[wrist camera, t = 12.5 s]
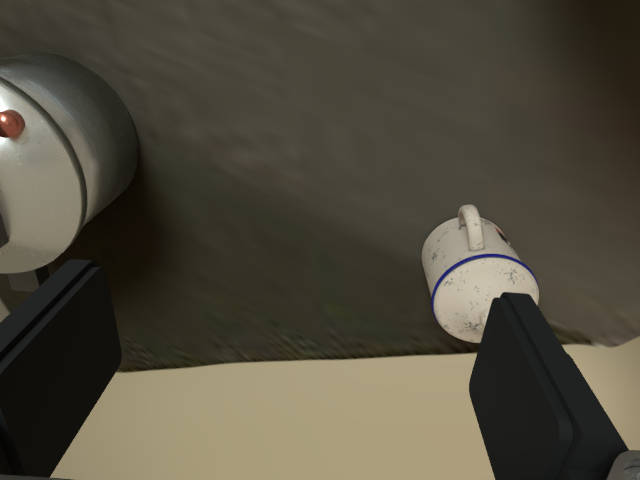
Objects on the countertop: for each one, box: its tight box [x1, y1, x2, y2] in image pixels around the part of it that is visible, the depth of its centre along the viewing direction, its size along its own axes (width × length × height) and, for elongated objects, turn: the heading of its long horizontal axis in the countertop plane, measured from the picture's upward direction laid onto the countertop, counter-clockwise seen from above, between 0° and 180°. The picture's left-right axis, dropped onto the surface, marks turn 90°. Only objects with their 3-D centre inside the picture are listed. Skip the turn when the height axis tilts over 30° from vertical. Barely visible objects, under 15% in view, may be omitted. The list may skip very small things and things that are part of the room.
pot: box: [0, 53, 139, 292], centre depth 39 cm, size 23×15×11 cm, turn 177°
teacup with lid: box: [422, 205, 539, 343], centre depth 42 cm, size 12×9×12 cm
